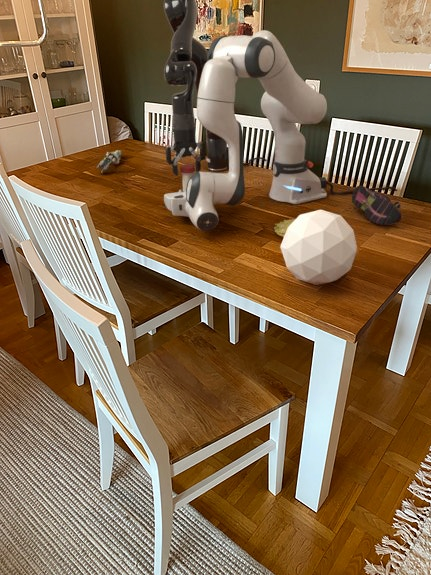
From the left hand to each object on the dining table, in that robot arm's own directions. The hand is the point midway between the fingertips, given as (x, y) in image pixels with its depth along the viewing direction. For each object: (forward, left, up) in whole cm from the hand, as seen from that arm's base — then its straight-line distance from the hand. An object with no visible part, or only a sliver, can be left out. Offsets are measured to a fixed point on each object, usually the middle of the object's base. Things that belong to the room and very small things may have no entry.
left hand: (187, 173), depth 160 cm
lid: (0, 0, +2) cm, 2 cm away
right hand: (0, -1, -7) cm, 7 cm away
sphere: (-4, +65, -13) cm, 66 cm away
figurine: (+5, -69, -13) cm, 71 cm away
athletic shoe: (-51, +46, -13) cm, 70 cm away
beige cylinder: (0, 0, -13) cm, 13 cm away
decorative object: (-20, +41, -13) cm, 47 cm away
